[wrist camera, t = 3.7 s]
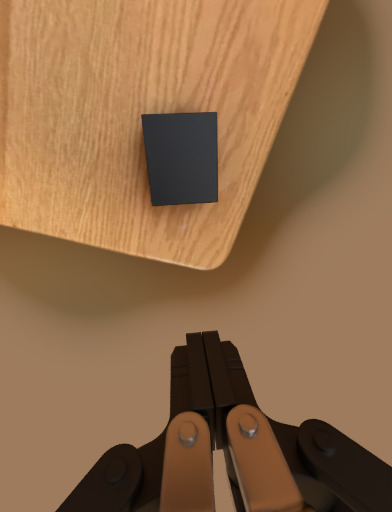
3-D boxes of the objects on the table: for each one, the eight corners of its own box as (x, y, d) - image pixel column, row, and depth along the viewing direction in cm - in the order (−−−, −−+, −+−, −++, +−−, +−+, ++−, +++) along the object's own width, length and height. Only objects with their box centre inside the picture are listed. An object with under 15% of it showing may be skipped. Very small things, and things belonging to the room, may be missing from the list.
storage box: (211, 197, 22) (218, 202, 19) (155, 200, 22) (151, 206, 19) (210, 121, 20) (217, 111, 17) (146, 123, 19) (141, 114, 16)
